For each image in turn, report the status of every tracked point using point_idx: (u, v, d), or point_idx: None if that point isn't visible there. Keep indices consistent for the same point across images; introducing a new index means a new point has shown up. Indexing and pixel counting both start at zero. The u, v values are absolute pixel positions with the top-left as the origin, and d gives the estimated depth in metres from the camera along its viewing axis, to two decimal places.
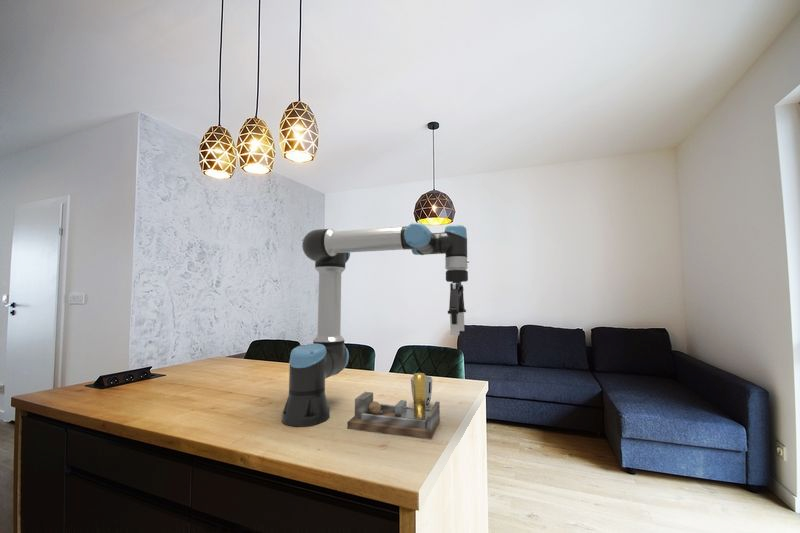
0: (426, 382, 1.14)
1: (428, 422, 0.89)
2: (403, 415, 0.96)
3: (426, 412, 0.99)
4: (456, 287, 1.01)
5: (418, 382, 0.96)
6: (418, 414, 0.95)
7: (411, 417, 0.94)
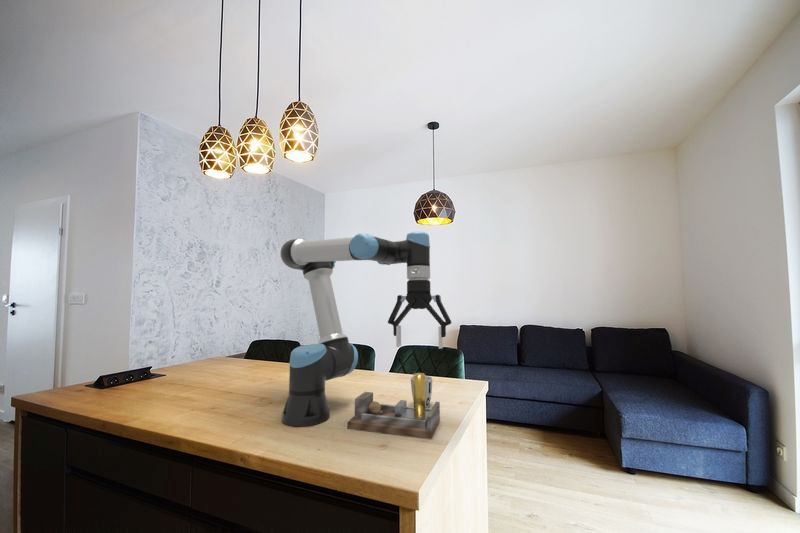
0: (426, 382, 1.14)
1: (428, 422, 0.89)
2: (403, 415, 0.96)
3: (426, 412, 0.99)
4: None
5: (418, 382, 0.96)
6: (418, 414, 0.95)
7: (411, 417, 0.94)
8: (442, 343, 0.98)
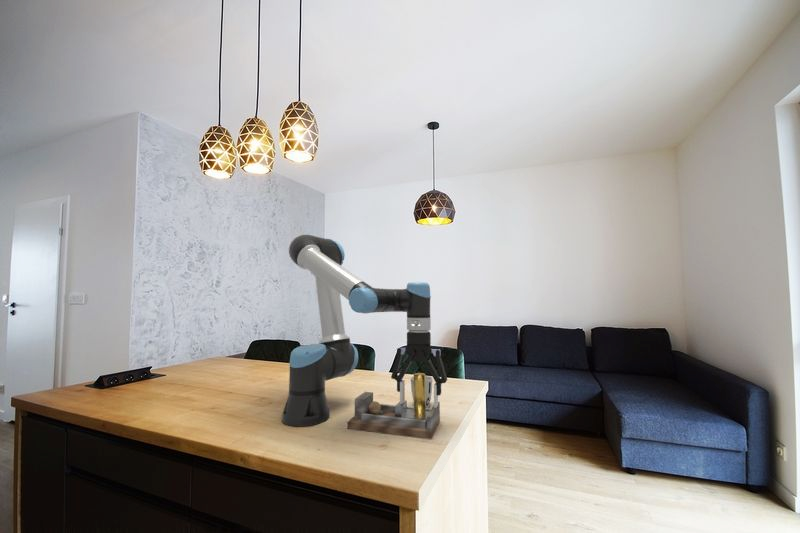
0: (426, 382, 1.14)
1: (428, 422, 0.89)
2: (403, 415, 0.96)
3: (426, 412, 0.99)
4: None
5: (419, 382, 0.96)
6: (418, 414, 0.95)
7: (411, 417, 0.94)
8: (437, 400, 0.97)
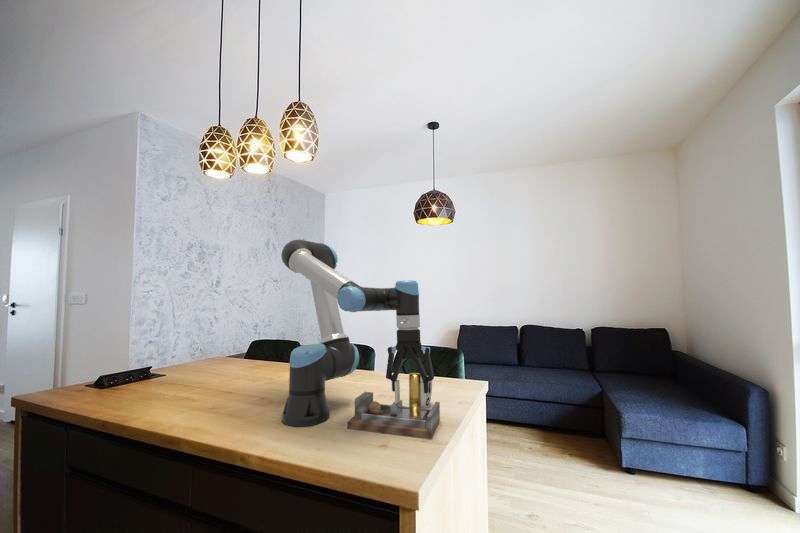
0: None
1: (428, 422, 0.89)
2: (399, 415, 0.96)
3: (422, 412, 0.99)
4: None
5: (414, 382, 0.97)
6: (413, 414, 0.96)
7: (406, 417, 0.95)
8: (425, 398, 0.98)
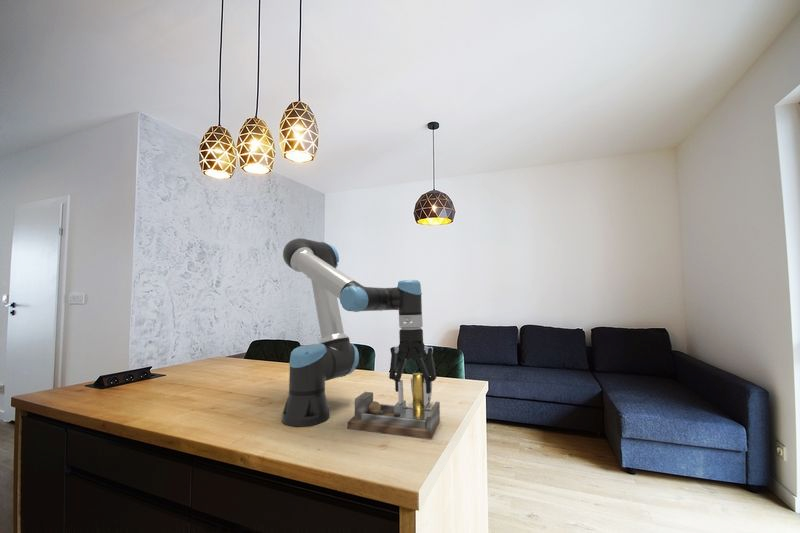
0: None
1: (428, 422, 0.89)
2: (402, 415, 0.96)
3: (425, 412, 0.99)
4: None
5: (418, 382, 0.96)
6: (417, 414, 0.95)
7: (410, 417, 0.95)
8: (427, 398, 0.98)
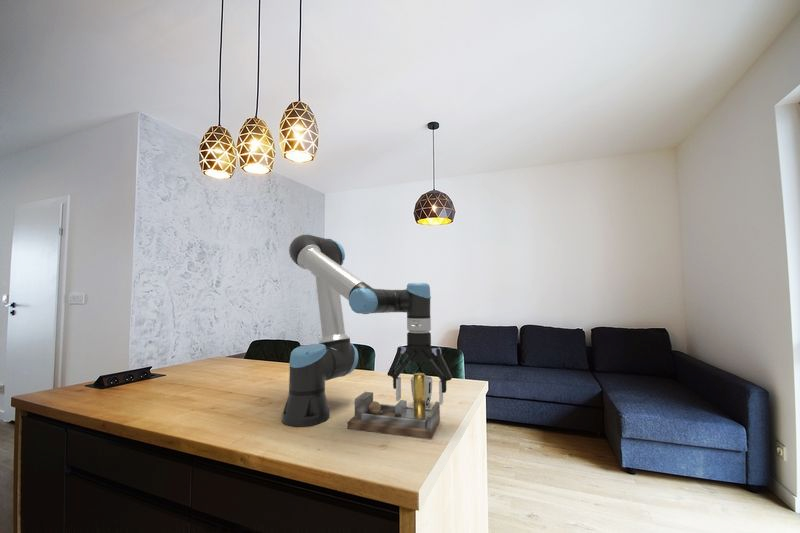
0: (426, 382, 1.14)
1: (428, 422, 0.89)
2: (403, 415, 0.96)
3: (426, 412, 0.99)
4: None
5: (419, 382, 0.96)
6: (418, 414, 0.95)
7: (411, 417, 0.94)
8: None
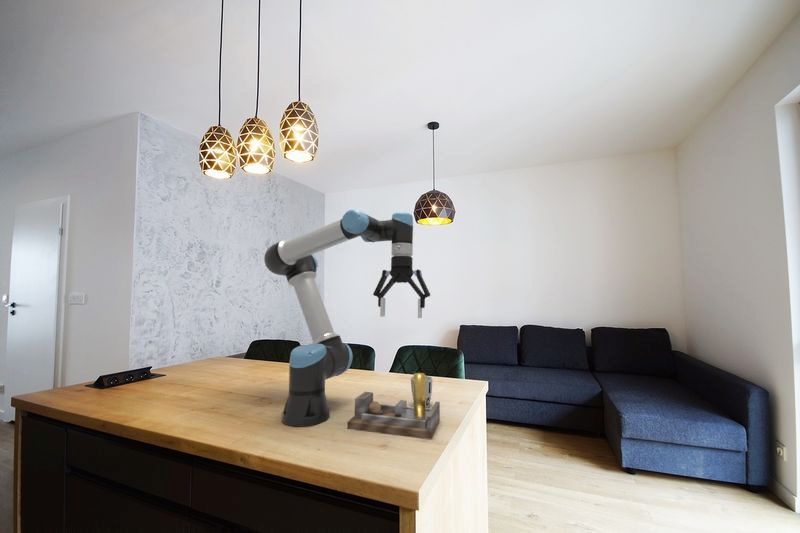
0: (426, 382, 1.14)
1: (428, 422, 0.89)
2: (403, 415, 0.96)
3: (426, 412, 0.99)
4: None
5: (419, 382, 0.96)
6: (418, 414, 0.95)
7: (411, 417, 0.94)
8: (421, 314, 1.08)
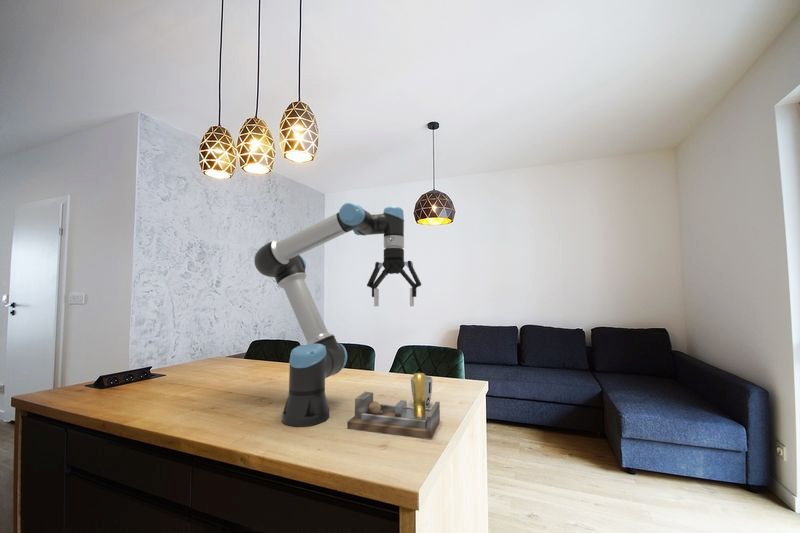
0: (426, 382, 1.14)
1: (428, 422, 0.89)
2: (403, 415, 0.96)
3: (426, 412, 0.99)
4: None
5: (419, 382, 0.96)
6: (418, 414, 0.95)
7: (411, 417, 0.94)
8: (413, 302, 1.13)
